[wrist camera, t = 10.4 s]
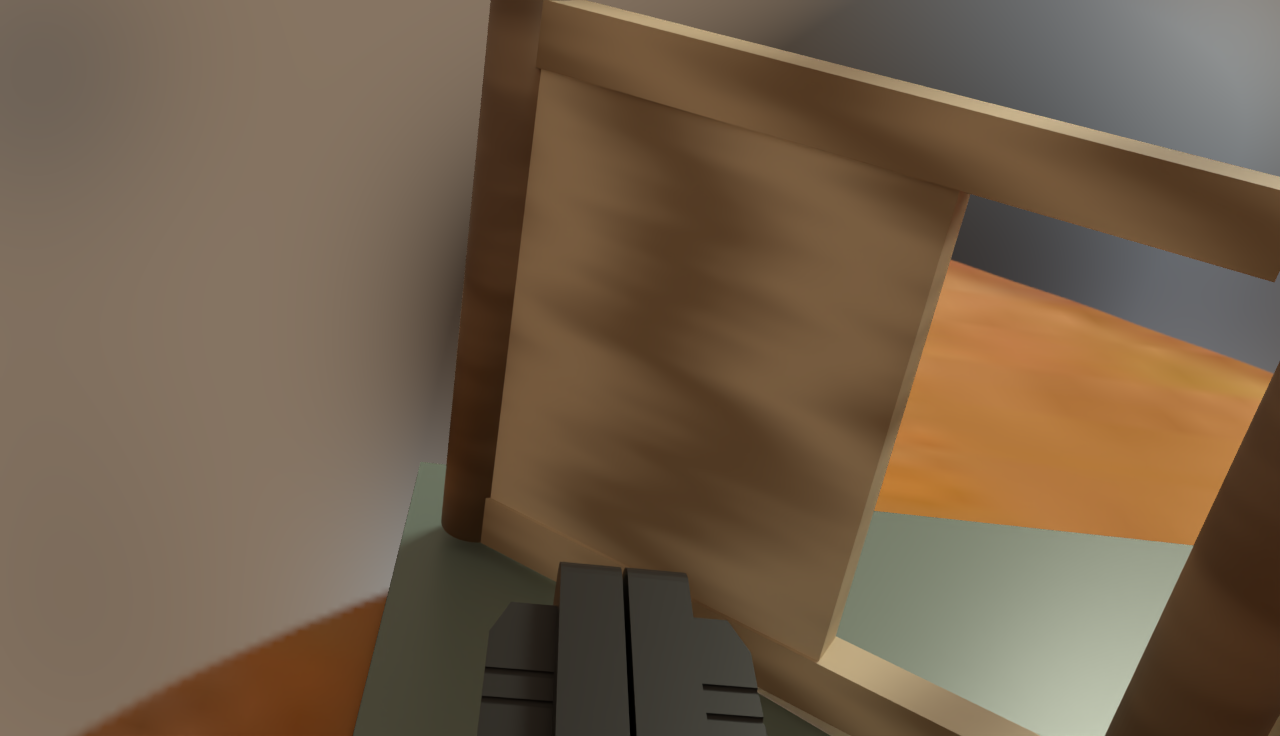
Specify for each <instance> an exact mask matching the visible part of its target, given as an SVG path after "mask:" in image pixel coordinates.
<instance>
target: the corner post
mask: <svg viewBox="0 0 1280 736" xmlns="http://www.w3.org/2000/svg"><path fill="white" fill-rule="evenodd" d="M1279 715H1280V362H1279V364H1278V366H1277V368H1276V371H1275V373H1274V375H1273V377H1272V379H1271V381H1270V383H1269V386H1268V388H1267V390H1266V392H1265V394H1264V396H1263V398H1262V400H1261V403H1260V405H1259V407H1258V409H1257V411H1256V413H1255V415H1254V418H1253V420H1252V422H1251V424H1250V426H1249V428H1248V430H1247V433H1246V435H1245V437H1244V439H1243V441H1242V443H1241V445H1240V448H1239V450H1238V452H1237V454H1236V456H1235V458H1234V460H1233V463H1232V465H1231V467H1230V469H1229V471H1228V473H1227V475H1226V477H1225V480H1224V482H1223V484H1222V486H1221V488H1220V490H1219V492H1218V495H1217V497H1216V499H1215V501H1214V503H1213V505H1212V507H1211V510H1210V512H1209V514H1208V516H1207V518H1206V520H1205V522H1204V525H1203V527H1202V529H1201V531H1200V533H1199V535H1198V537H1197V540H1196V542H1195V544H1194V546H1193V548H1192V550H1191V552H1190V555H1189V557H1188V559H1187V561H1186V563H1185V565H1184V567H1183V569H1182V572H1181V574H1180V576H1179V578H1178V580H1177V582H1176V584H1175V587H1174V589H1173V591H1172V593H1171V595H1170V597H1169V599H1168V602H1167V604H1166V606H1165V608H1164V610H1163V612H1162V614H1161V617H1160V619H1159V621H1158V623H1157V625H1156V627H1155V629H1154V632H1153V634H1152V636H1151V638H1150V640H1149V642H1148V644H1147V646H1146V649H1145V651H1144V653H1143V655H1142V657H1141V659H1140V661H1139V664H1138V666H1137V668H1136V670H1135V672H1134V674H1133V676H1132V679H1131V681H1130V683H1129V685H1128V687H1127V689H1126V691H1125V694H1124V696H1123V698H1122V700H1121V702H1120V704H1119V706H1118V709H1117V711H1116V713H1115V715H1114V717H1113V719H1112V721H1111V723H1110V726H1109V728H1108V730H1107V732H1106V734H1105V736H1268V735H1269V733H1270V731H1271V729H1272V728H1273V726H1274V724H1275V722H1276V720H1277V719H1278V717H1279Z"/></svg>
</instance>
